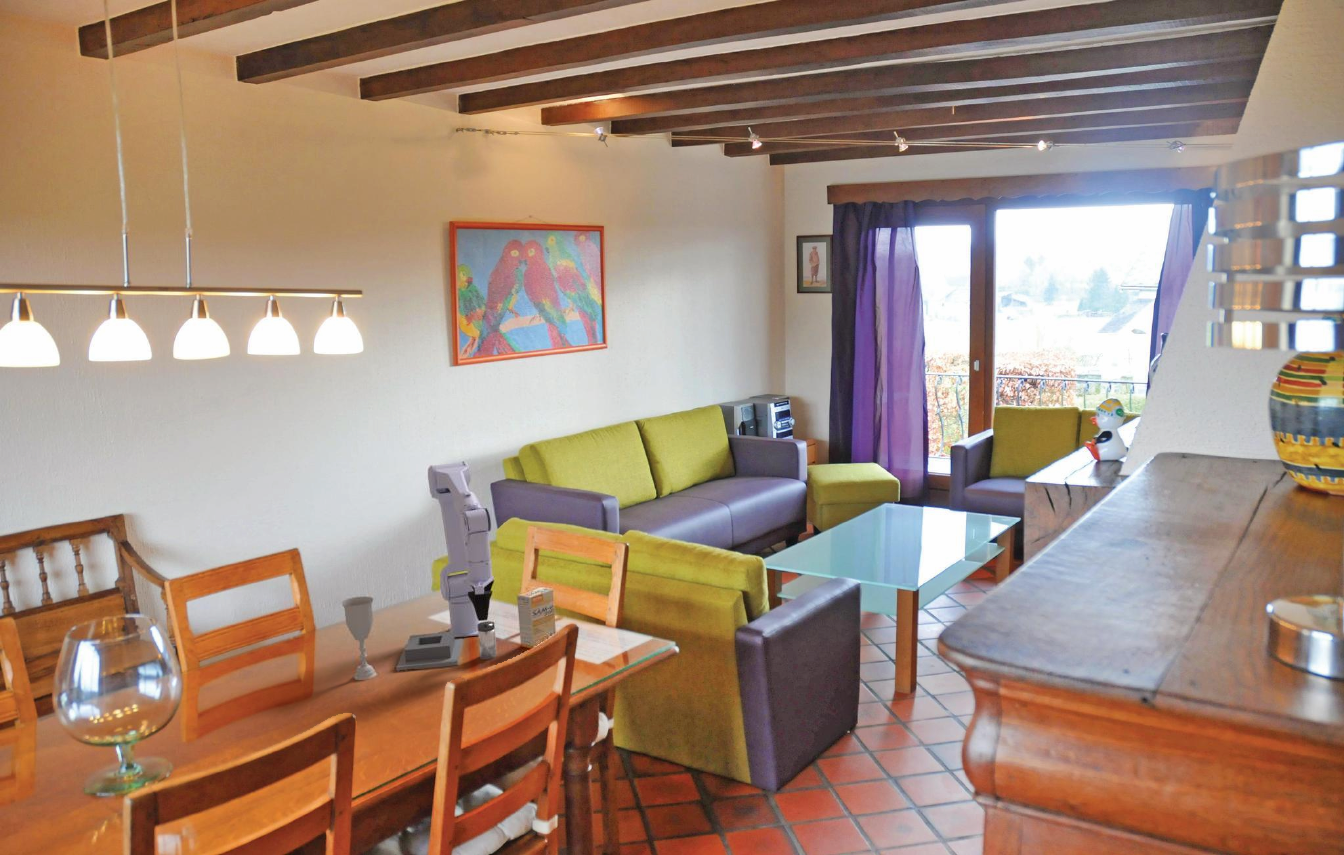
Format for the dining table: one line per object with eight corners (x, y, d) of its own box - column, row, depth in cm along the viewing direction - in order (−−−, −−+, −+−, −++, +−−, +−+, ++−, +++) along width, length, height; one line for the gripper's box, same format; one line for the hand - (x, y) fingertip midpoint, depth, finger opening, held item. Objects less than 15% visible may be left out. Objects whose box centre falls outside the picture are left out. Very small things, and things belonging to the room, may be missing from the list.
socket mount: (406, 648, 252) (404, 632, 251) (463, 642, 253) (461, 627, 253) (396, 671, 236) (395, 654, 236) (457, 665, 238) (456, 648, 237)
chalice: (342, 679, 233) (334, 603, 231) (364, 668, 239) (356, 595, 237) (366, 683, 230) (358, 606, 227) (387, 672, 236) (380, 598, 233)
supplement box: (534, 649, 245) (529, 597, 243) (520, 646, 248) (515, 594, 246) (557, 639, 251) (553, 588, 250) (543, 636, 254) (539, 585, 253)
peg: (480, 654, 244) (477, 622, 243) (497, 652, 245) (494, 620, 244) (479, 660, 240) (476, 627, 239) (496, 658, 241) (493, 625, 240)
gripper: (463, 553, 246) (468, 607, 247) (459, 569, 231) (464, 626, 233) (492, 550, 246) (497, 604, 248) (490, 566, 232) (495, 623, 234)
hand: (483, 615), depth 241 cm, fingers open, 7 cm apart
